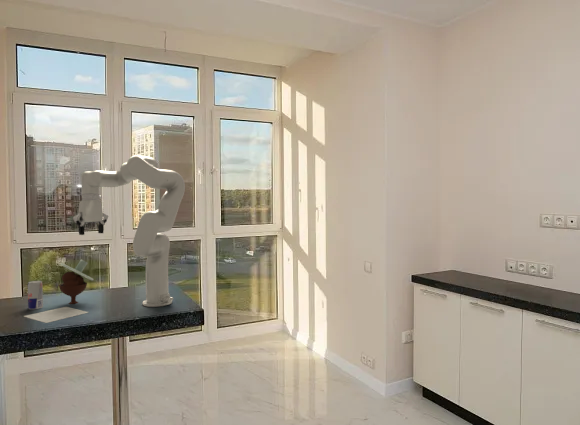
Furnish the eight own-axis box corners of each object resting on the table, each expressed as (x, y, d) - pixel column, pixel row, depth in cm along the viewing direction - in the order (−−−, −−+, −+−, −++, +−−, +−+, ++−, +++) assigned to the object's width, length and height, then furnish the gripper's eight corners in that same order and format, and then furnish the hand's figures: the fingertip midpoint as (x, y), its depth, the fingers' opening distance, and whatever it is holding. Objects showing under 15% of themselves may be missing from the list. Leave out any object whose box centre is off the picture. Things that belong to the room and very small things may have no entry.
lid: (98, 284, 187) (106, 272, 189) (72, 270, 176) (80, 257, 178) (80, 275, 195) (88, 263, 198) (54, 261, 184) (62, 249, 186)
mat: (89, 314, 170) (89, 312, 169) (46, 325, 155) (46, 322, 155) (65, 308, 179) (65, 306, 178) (23, 318, 164) (22, 316, 164)
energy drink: (26, 309, 177) (26, 281, 177) (41, 307, 181) (40, 280, 181) (30, 312, 173) (29, 283, 173) (44, 309, 177) (43, 281, 177)
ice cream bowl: (76, 308, 179) (75, 273, 178) (53, 307, 181) (52, 273, 180) (92, 302, 189) (91, 269, 189) (71, 301, 191) (70, 269, 191)
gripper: (102, 197, 207) (103, 232, 208) (68, 197, 192) (69, 235, 193) (112, 197, 203) (112, 233, 204) (77, 197, 188) (78, 235, 189)
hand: (91, 234), depth 198 cm, fingers open, 9 cm apart
